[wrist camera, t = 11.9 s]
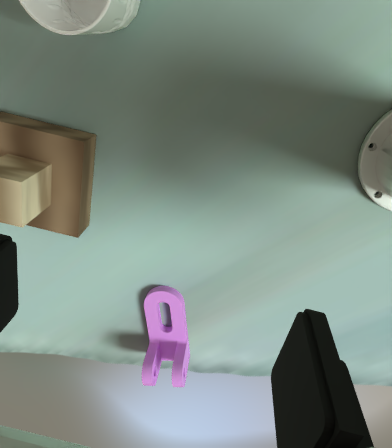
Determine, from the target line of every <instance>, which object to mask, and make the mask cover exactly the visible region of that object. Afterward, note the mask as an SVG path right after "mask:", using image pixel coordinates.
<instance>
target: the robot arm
mask: <svg viewBox="0 0 392 448" xmlns="http://www.w3.org/2000/svg"><path fill="white" fill-rule="evenodd" d="M371 143H372V146H371V147H368V146H369V145H370V144H371ZM358 175H359V179H360V182H361V185H362V187H363V189H364V190H365V192H366V193H367V195H368V196H369V197H370V198H371V199H372V200H373V201H374V202H375V203H377V204H378V205H379V206H381V207H383V208H385V209H387V210H389V211H392V109H391V110H390V111H389V112H387V113H386V114H384V115H383V116H382V117H381V118H380V119H379V120H378V121H377V122H376V123H375V124H374V126H373V127H372V128H371V130H370V131H369V133H368V134H367V136H366V138H365V140H364V142H363V144H362V146H361V149H360V153H359V156H358ZM377 191H378V192H377ZM375 192H377V193H376V194H375ZM17 310H18V275H17V246H16V243H15V242H12V238H11V237H10V236H7V235H3V234H0V332H1V331H2V330H3V329H4V328H5V327H6V325H7V324H8V323H9V322H10V321H11V319H12V318H13V317H14V316H15V314H16V312H17ZM271 383H272V395H273V406H274V417H275V428H276V438H277V448H374V446H373V443H372V440H371V437H370V434H369V431H368V428H367V425H366V422H365V419H364V416H363V413H362V410H361V407H360V404H359V401H358V398H357V395H356V392H355V389H354V386H353V383H352V380H351V377H350V374H349V371H348V368H347V366H346V364H345V363H344V362H343V361H342V360H340V358H339V355H338V352H337V349H336V346H335V343H334V340H333V336H332V333H331V330H330V327H329V324H328V321H327V318H326V315H325V314H324V313H322V312H318V311H314V310H310V309H305V310H304V312H298V314H297V316H296V318H295V320H294V322H293V324H292V327H291V329H290V331H289V333H288V335H287V338H286V340H285V342H284V344H283V346H282V349H281V351H280V353H279V355H278V358H277V360H276V362H275V364H274V366H273V369H272V373H271ZM0 448H91V447H87V446H83V445H79V444H75V443H71V442H66V441H63V440H59V439H55V438H50V437H46V436H42V435H38V434H34V433H30V432H26V431H22V430H18V429H14V428H9V427H6V426H1V425H0Z"/></svg>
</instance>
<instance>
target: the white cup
mask: <svg viewBox="0 0 392 448" xmlns="http://www.w3.org/2000/svg"><path fill="white" fill-rule="evenodd" d="M19 1H20V3H21V5H22V6H23V8H24V9H25V10H26V12H27V13H28V14H29V15H30V16H31V17H32V18H33V19H34V20H35V21H36V22H37V23H38V24H40V25H41V26H43V27H44V28H46V29H48V30H50V31H52V32H55V33H58V34H63V35H88V34H103V33H109V32H115V31H118V30H121V29H123V28H126V27H127V26H128V25H129V24H130V23H131V21H132V20H133V19H134V18H135V17H136V16H137V12H138V9H139V5H140V1H141V0H19Z"/></svg>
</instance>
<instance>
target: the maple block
mask: <svg viewBox="0 0 392 448" xmlns="http://www.w3.org/2000/svg"><path fill="white" fill-rule="evenodd" d="M51 173H52V164H49V163H45V162H41V161H36V160H32V159H28V158H24V157H19V156H15V155H11V154H6V155H4V156H2V157H0V222H2V223H6V224H10V225H14V226H18V227H24V226H25V225H26V224H28V223H29V222H30V221H31V220H32V219H34V218H35V217H36V216H37V215H39V214H40V213H41V212H42V211H44V210H45V209H46V208H47V207H49V206H50V205H51Z"/></svg>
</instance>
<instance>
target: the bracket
mask: <svg viewBox="0 0 392 448" xmlns="http://www.w3.org/2000/svg"><path fill="white" fill-rule="evenodd" d="M160 302H165V303H167V304H168V305H169V306H170V312H171V320H172V326H171V327H167V326H164V325H163V324H162V321H161V314H160V307H159V303H160ZM144 310H145V316H146V322H147V327H148V333H149V339H150V342H149V346H148V349H147V353H146V356H145V359H144V362H143V367H142V383H143V385H148V386H155V384H156V381H157V377H158V373H159V370H160V366H161V362H162V360H170V361H173V367H172V384H173V387H184V386H185V381H186V375H187V370H188V364H189V358H190V351H189V342H188V332H187V323H186V313H185V304H184V299H183V297H182V295H181V294H180V293H179V292H178V291H177V290H176V289H174V288H172V287H169V286H157V287H154V288H152V289H151V290H150V291H149V292H148V293H147V296H146V298H145V301H144Z"/></svg>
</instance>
